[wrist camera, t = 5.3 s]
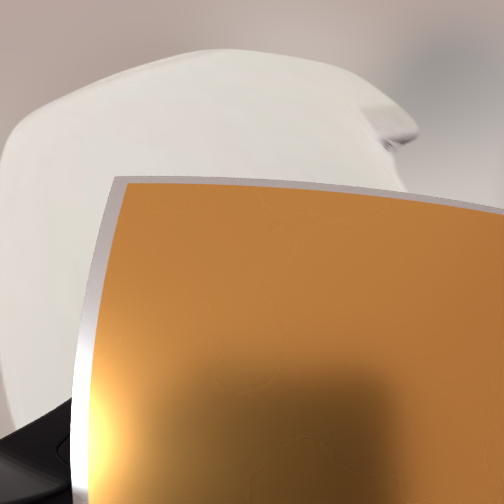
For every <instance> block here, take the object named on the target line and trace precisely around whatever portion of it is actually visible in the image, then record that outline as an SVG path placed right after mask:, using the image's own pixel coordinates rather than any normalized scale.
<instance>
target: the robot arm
mask: <svg viewBox="0 0 504 504" xmlns="http://www.w3.org/2000/svg"><path fill="white" fill-rule="evenodd" d="M71 413H72V397H71V398H70V399H69V400H67V401H66V402H64V403H63V404H61V405H60V406H58V407H57V408H55V409H54V410H52V411H50V412H49V413H47V414H45V415H44V416H42V417H40V418H38V419H37V420H35V421H33V422H31V423H29V424H28V425H26V426H24V427H22V428H20V429H18V430H17V431H15V432H13V433H11V434H9V435H8V436H5V437H4V438H2V439H0V504H73V494H72V477H71Z"/></svg>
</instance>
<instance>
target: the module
mask: <svg viewBox="0 0 504 504" xmlns="http://www.w3.org/2000/svg"><path fill="white" fill-rule="evenodd" d="M71 477H72V494H73V504H504V209H500V208H495V207H490V206H484V205H479V204H474V203H468V202H462V201H457V200H450V199H444V198H438V197H431V196H425V195H418V194H411V193H404V192H396V191H388V190H380V189H372V188H363V187H353V186H344V185H333V184H322V183H311V182H298V181H284V180H268V179H250V178H227V177H193V176H118V177H115V178H114V181H113V184H112V187H111V191H110V194H109V197H108V201H107V204H106V208H105V211H104V215H103V218H102V222H101V226H100V230H99V234H98V238H97V242H96V246H95V250H94V254H93V259H92V263H91V268H90V272H89V277H88V282H87V287H86V293H85V298H84V304H83V310H82V316H81V322H80V329H79V336H78V343H77V352H76V360H75V370H74V381H73V395H72V413H71Z"/></svg>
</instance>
